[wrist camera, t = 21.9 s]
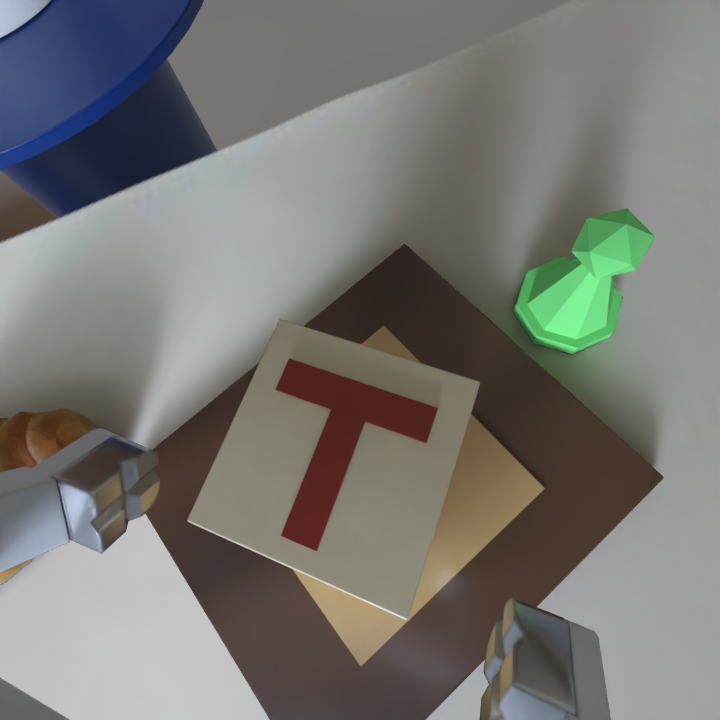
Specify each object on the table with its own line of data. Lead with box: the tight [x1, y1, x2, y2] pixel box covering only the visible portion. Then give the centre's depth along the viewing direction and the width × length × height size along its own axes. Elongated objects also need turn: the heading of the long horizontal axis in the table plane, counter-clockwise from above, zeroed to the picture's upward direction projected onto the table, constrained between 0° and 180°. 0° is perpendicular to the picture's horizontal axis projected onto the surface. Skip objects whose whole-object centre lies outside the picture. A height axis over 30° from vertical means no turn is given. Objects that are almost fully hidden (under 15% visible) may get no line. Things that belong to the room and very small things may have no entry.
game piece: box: [513, 209, 655, 354], centre depth 16 cm, size 4×4×6 cm
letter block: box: [187, 319, 480, 620], centre depth 13 cm, size 5×5×8 cm
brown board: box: [146, 244, 663, 720], centre depth 17 cm, size 14×16×1 cm
